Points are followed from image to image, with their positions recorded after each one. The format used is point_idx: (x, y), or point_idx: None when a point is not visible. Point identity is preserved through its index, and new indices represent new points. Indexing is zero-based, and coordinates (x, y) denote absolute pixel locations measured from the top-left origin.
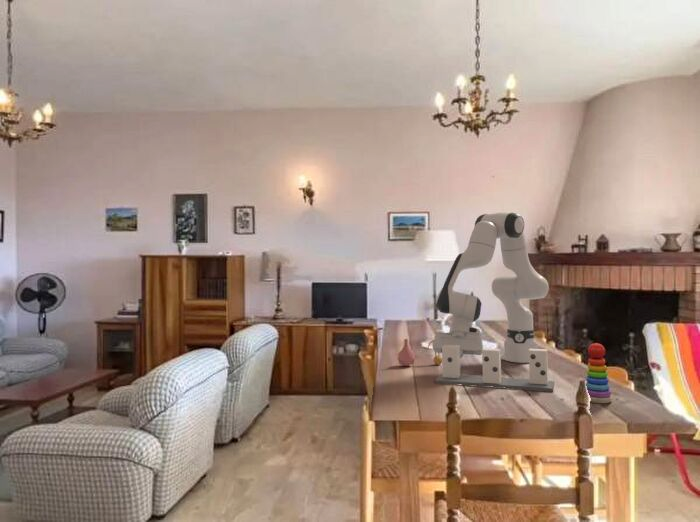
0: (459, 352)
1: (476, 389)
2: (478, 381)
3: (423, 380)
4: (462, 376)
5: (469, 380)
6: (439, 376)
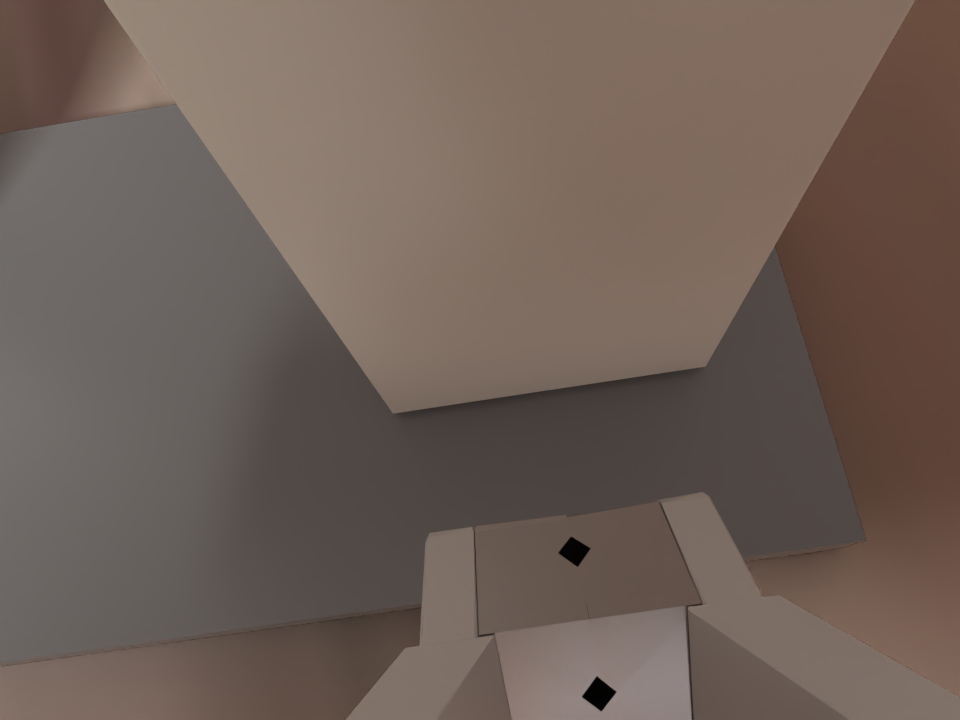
0: (148, 15)
1: (58, 29)
2: (24, 225)
3: (957, 122)
4: (363, 455)
5: (171, 221)
6: (767, 261)
